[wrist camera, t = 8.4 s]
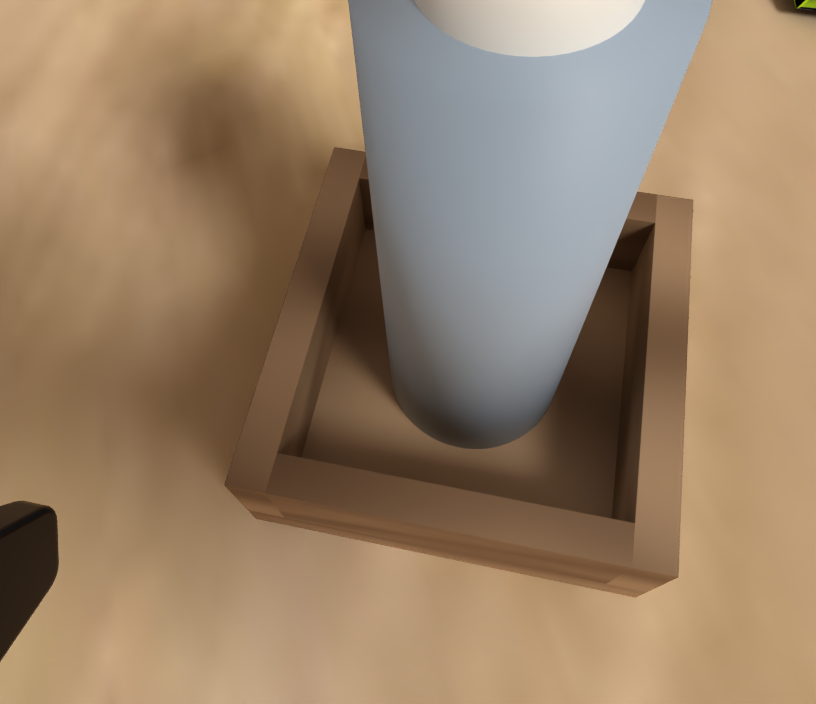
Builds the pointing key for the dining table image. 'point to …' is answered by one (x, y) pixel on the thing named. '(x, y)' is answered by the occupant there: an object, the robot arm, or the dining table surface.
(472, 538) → the square wooden tray
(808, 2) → the aircraft
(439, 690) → the dining table surface
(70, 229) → the dining table surface
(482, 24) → the blue bottle
